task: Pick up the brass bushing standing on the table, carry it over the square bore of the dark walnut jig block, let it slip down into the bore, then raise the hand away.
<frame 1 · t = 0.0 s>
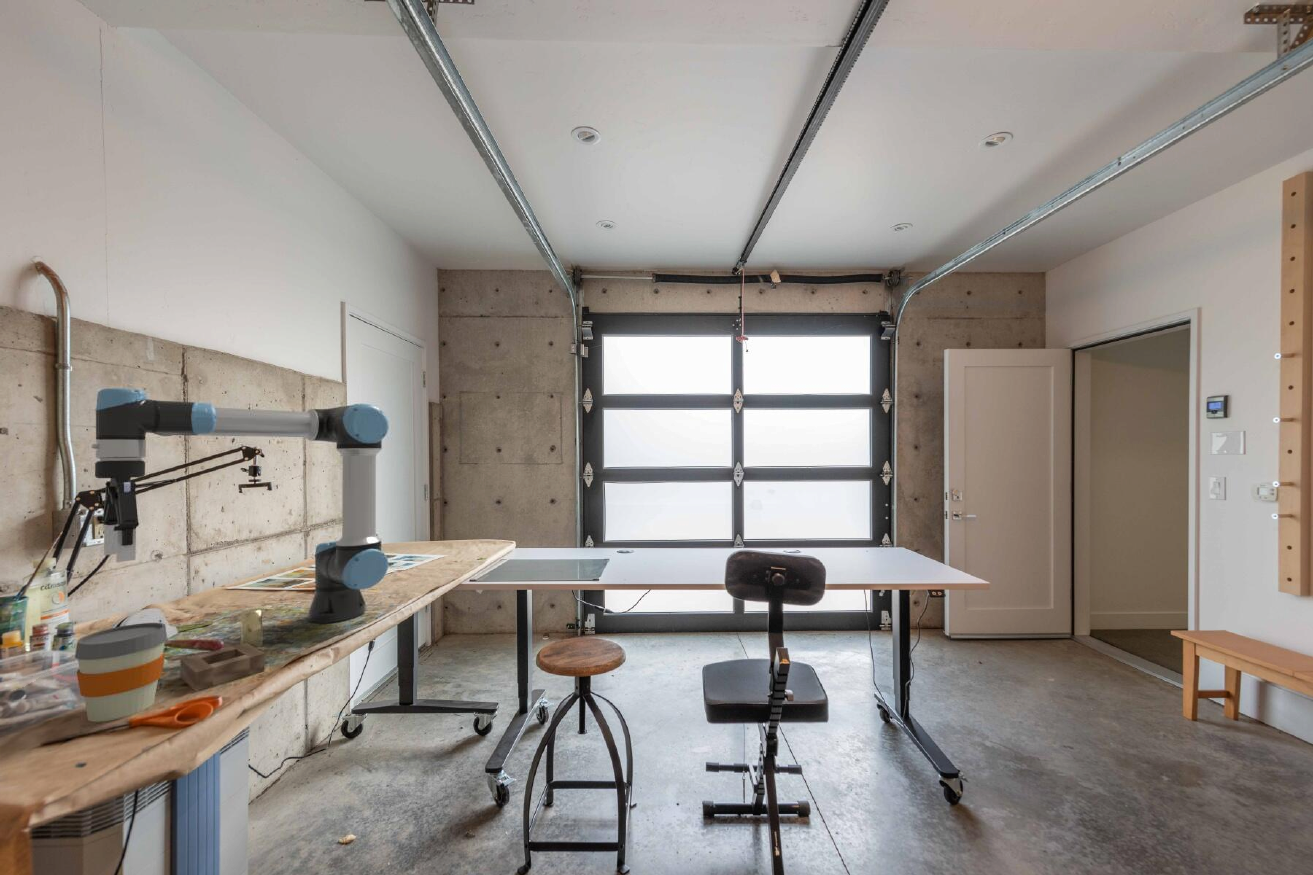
hand: (119, 557, 110), 28 cm above the workbench, tool pointing down, fingers open, 13 cm apart
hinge: (142, 645, 134), on the workbench
reusable coffee cup: (122, 710, 100), on the workbench
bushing: (251, 645, 133), on the workbench
jig: (222, 674, 115), on the workbench
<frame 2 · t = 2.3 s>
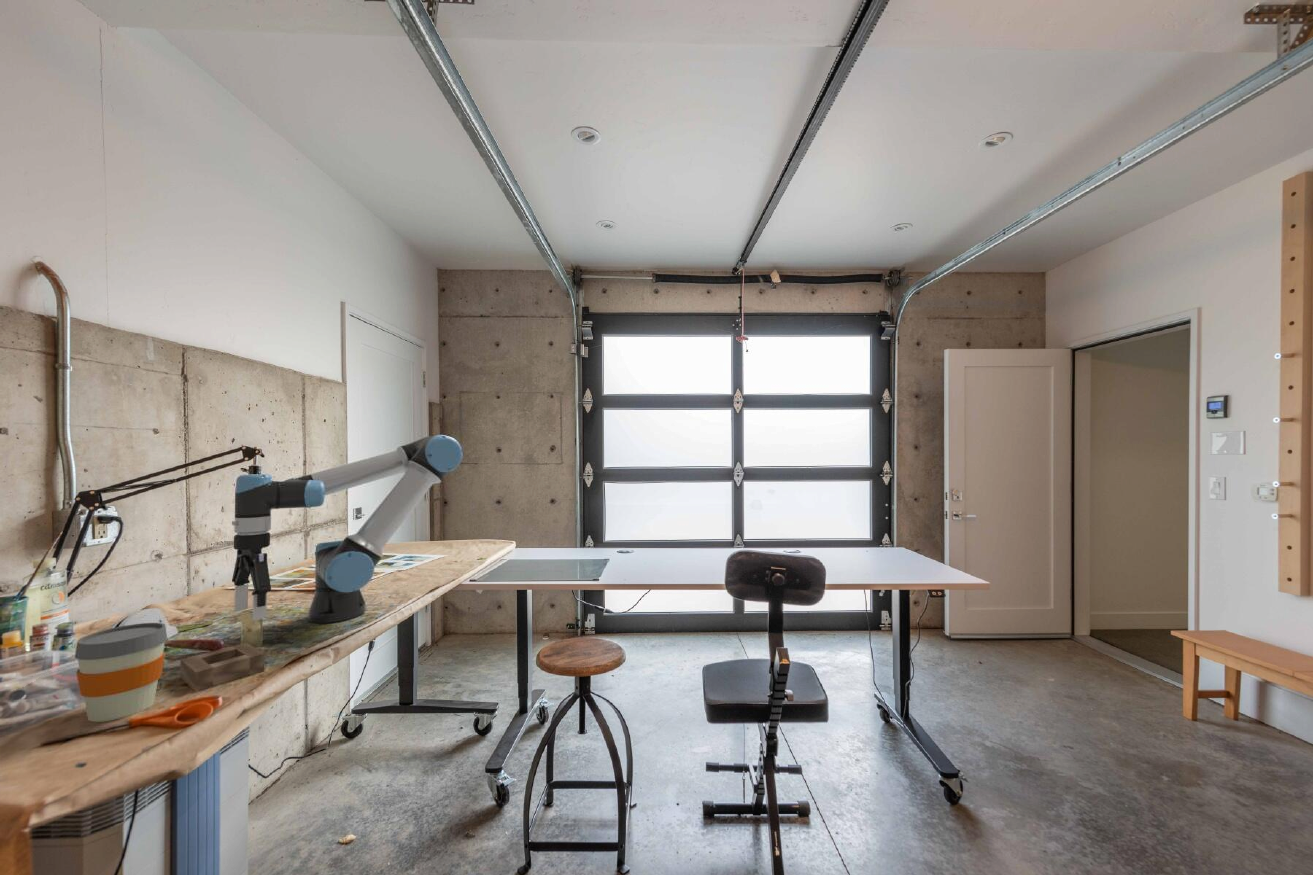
hand: (249, 614, 133), 8 cm above the workbench, tool pointing down, fingers open, 13 cm apart
nothing on the workbench moved.
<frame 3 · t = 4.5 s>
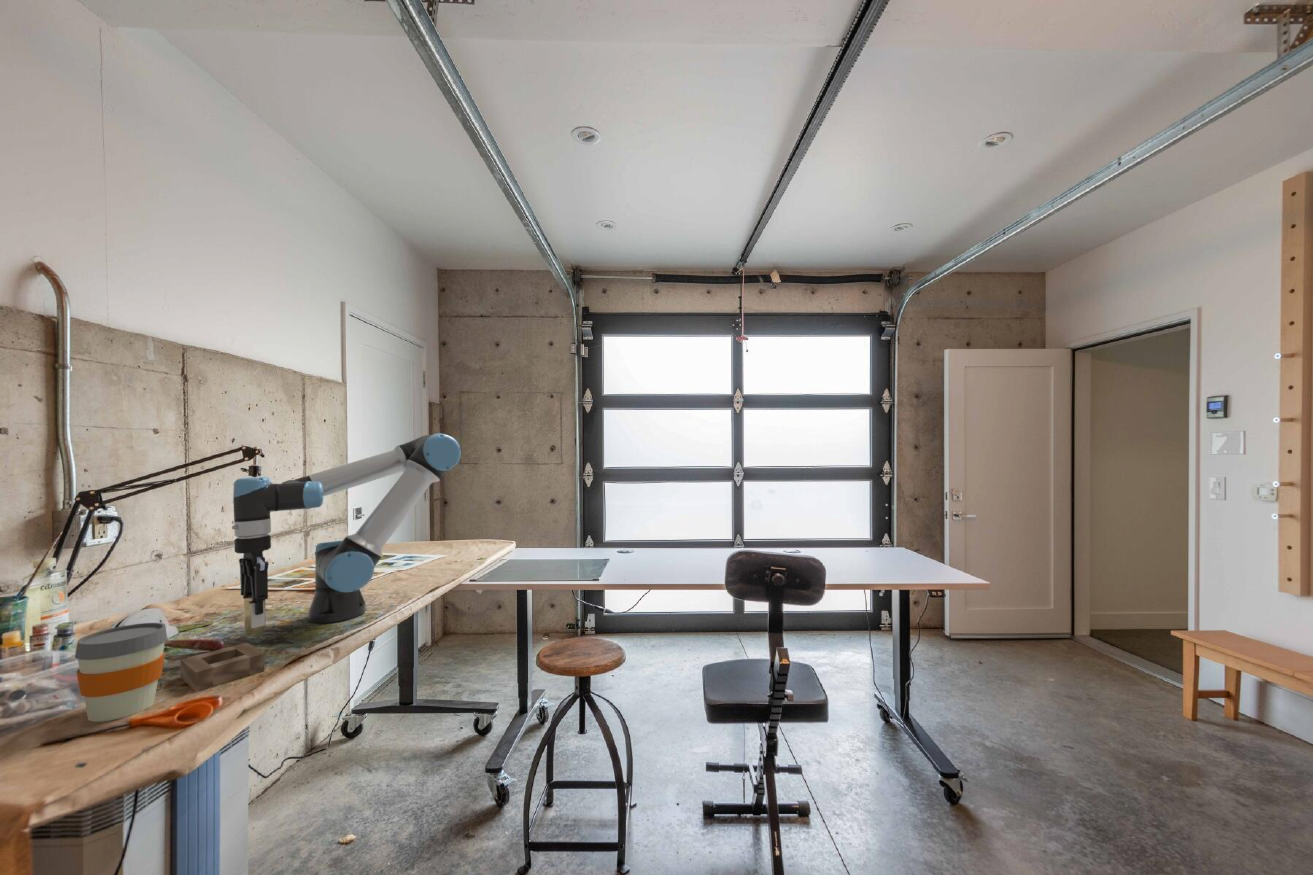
hand: (254, 624, 133), 5 cm above the workbench, tool pointing down, fingers closed on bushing, 4 cm apart
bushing: (255, 631, 133), point 3 cm above the workbench, touching gripper
everything else where it was.
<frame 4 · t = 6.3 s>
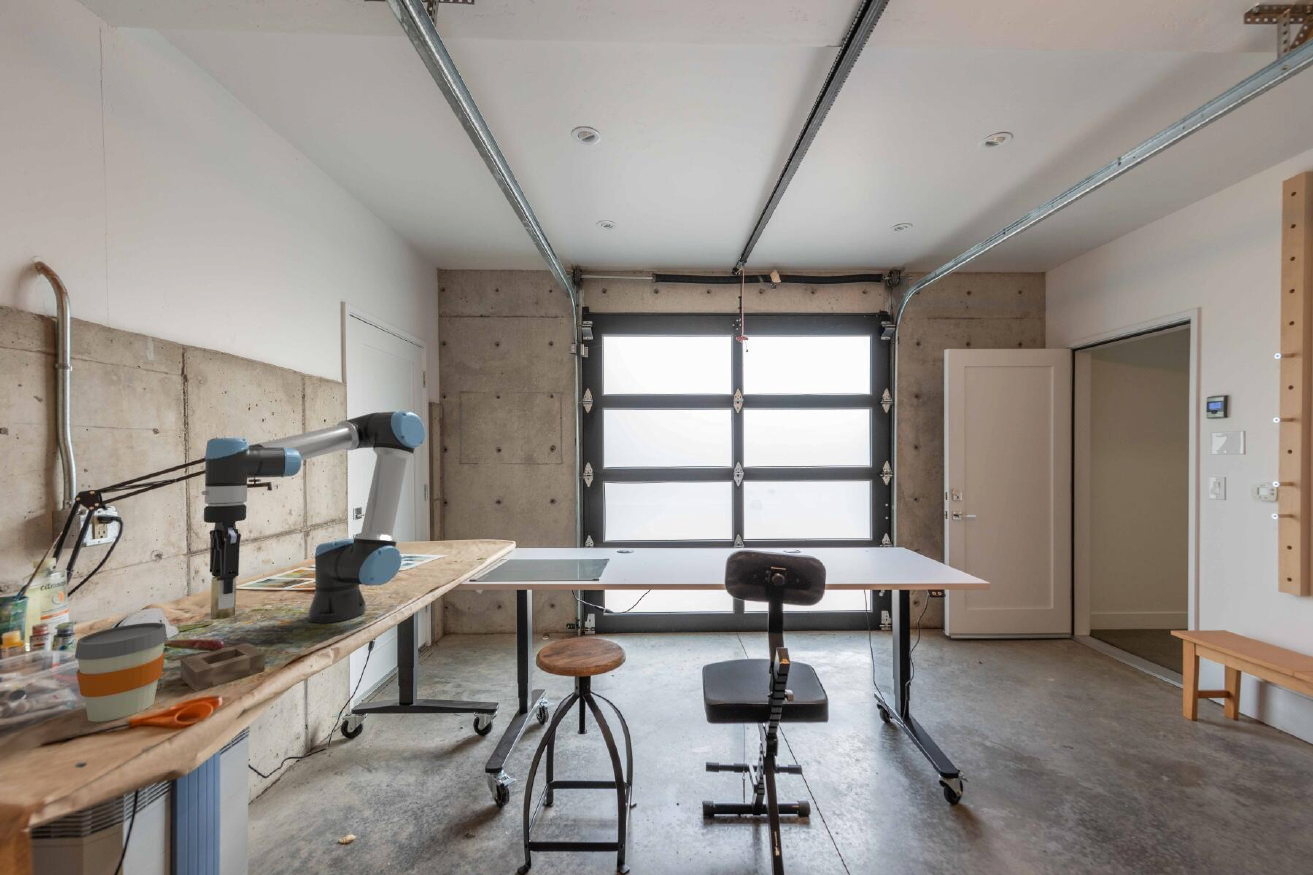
hand: (222, 605, 117), 15 cm above the workbench, tool pointing down, fingers closed on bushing, 4 cm apart
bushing: (222, 616, 116), point 13 cm above the workbench, touching gripper
everything else where it was.
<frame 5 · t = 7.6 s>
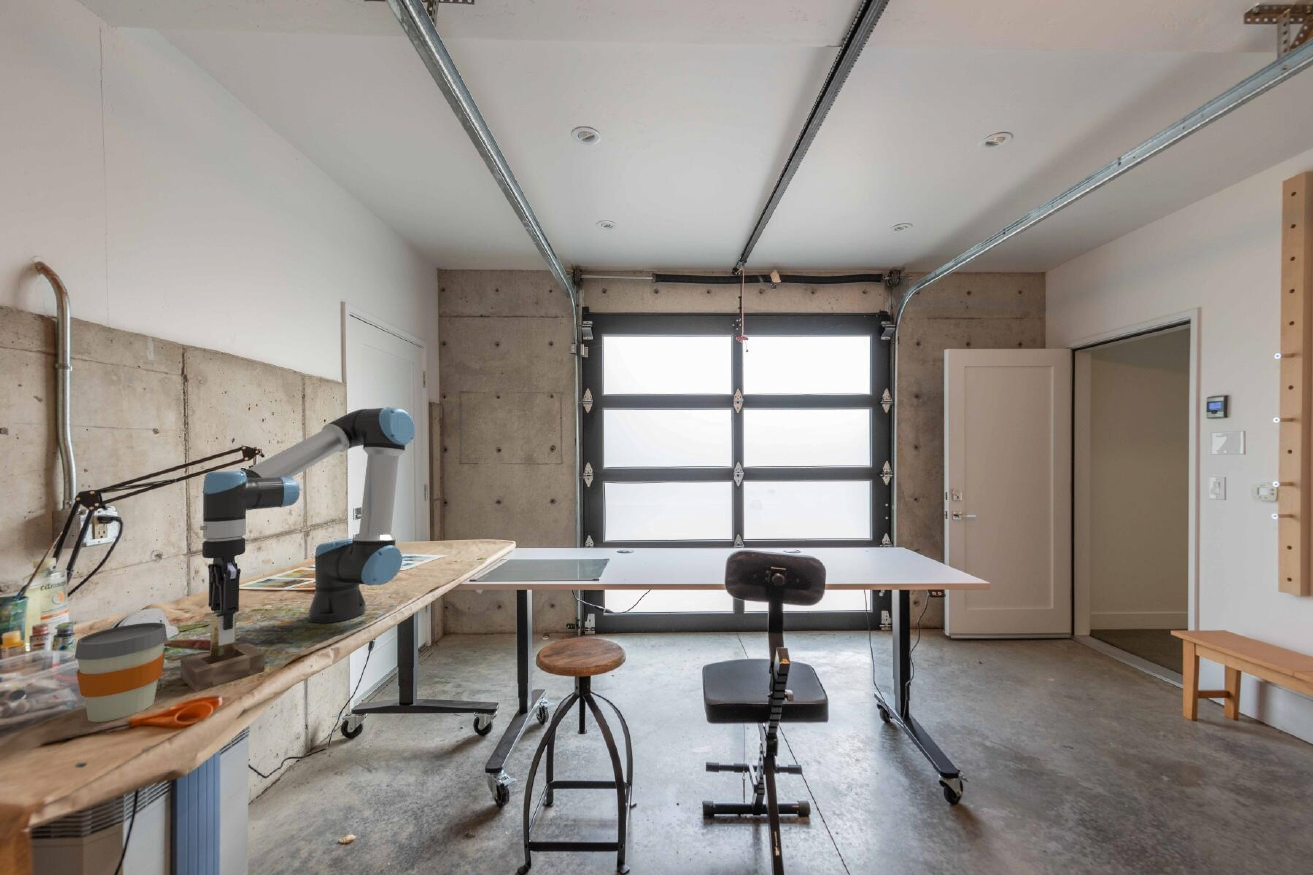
hand: (222, 641, 115), 7 cm above the workbench, tool pointing down, fingers closed on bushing, 4 cm apart
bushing: (223, 651, 115), point 5 cm above the workbench, touching gripper
everything else where it was.
when the fingers open (5 cm above the workbench, at t = 8.5 s): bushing drops 3 cm, resting in jig.
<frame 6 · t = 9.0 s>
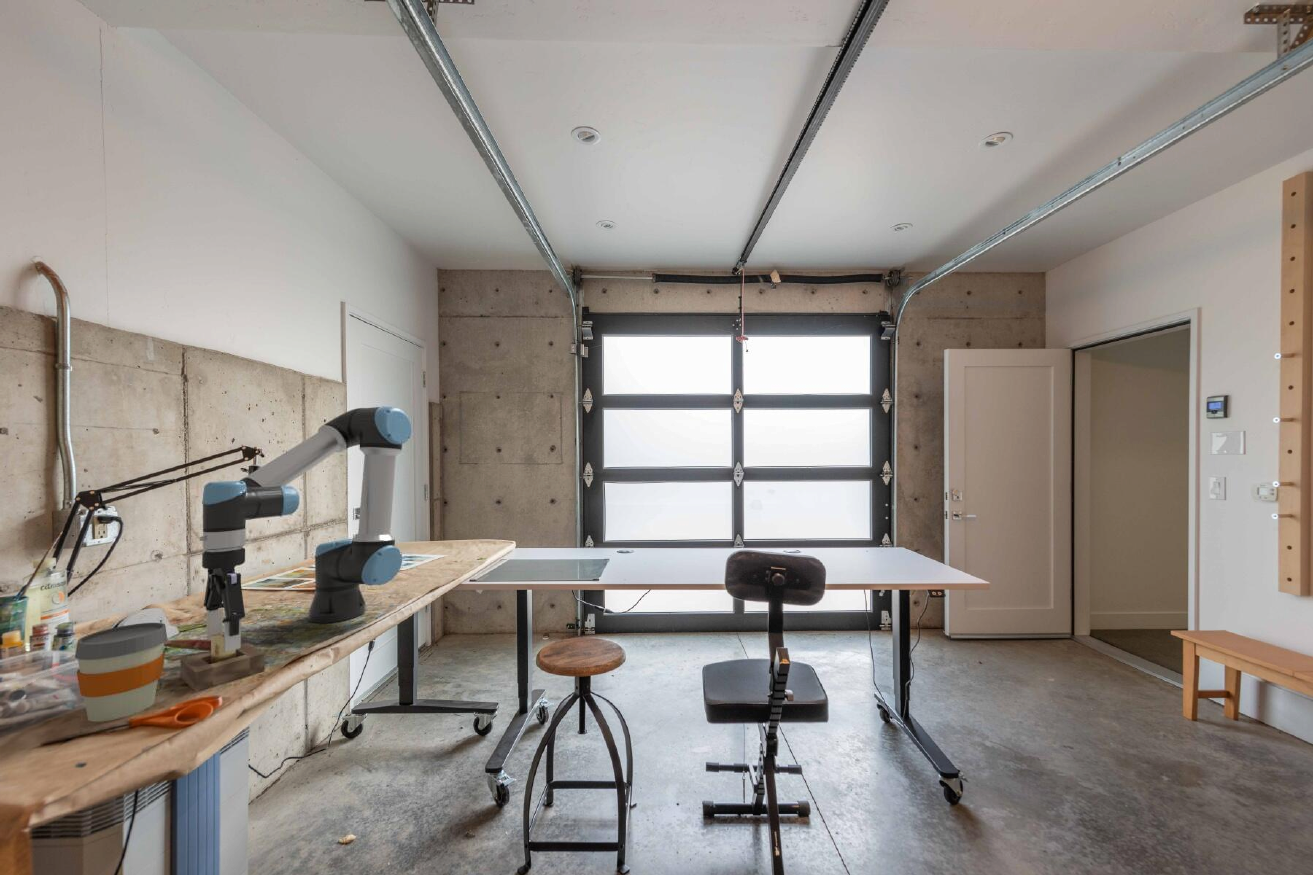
hand: (223, 643, 115), 7 cm above the workbench, tool pointing down, fingers open, 12 cm apart
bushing: (223, 674, 115), resting in jig
everything else where it was.
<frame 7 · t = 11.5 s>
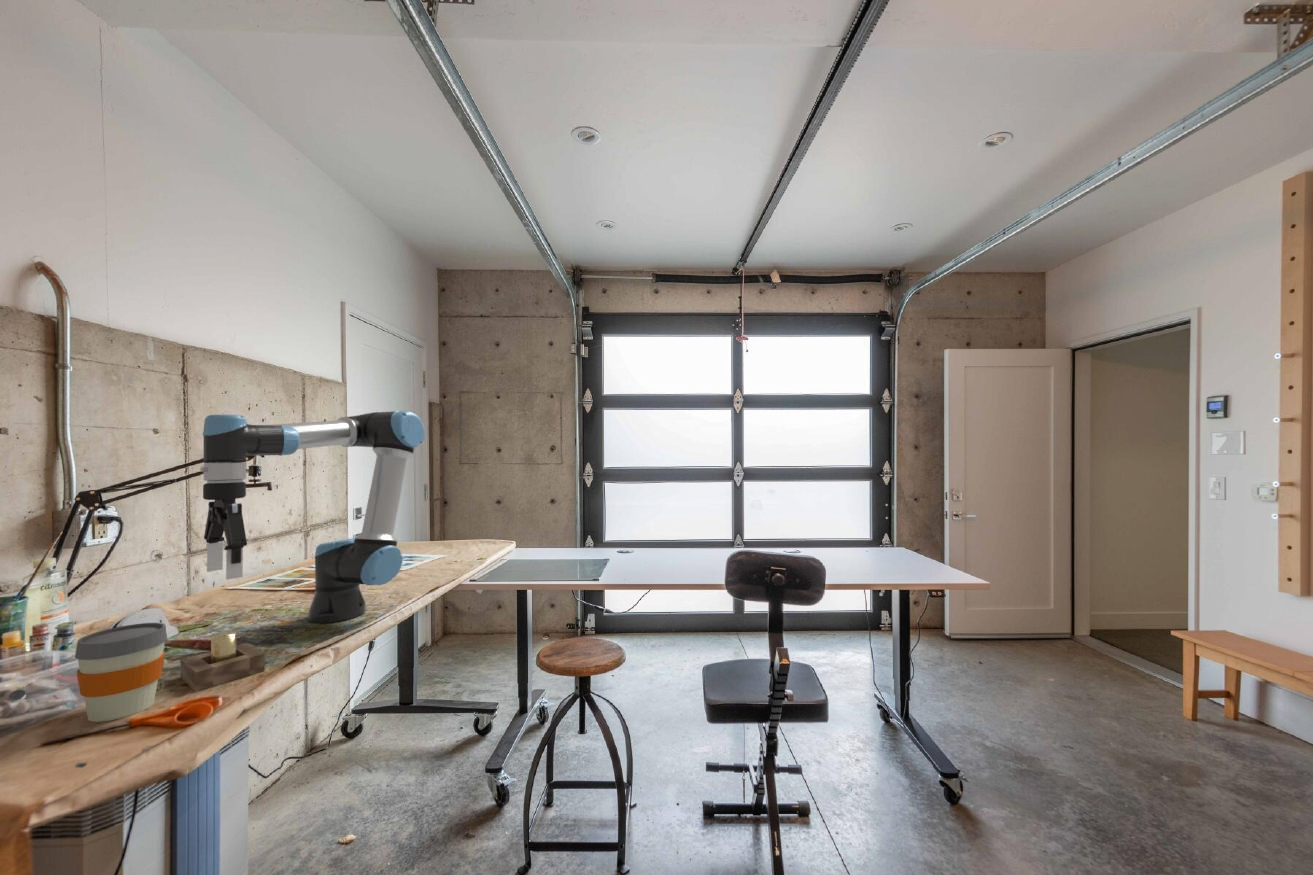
hand: (224, 574, 116), 23 cm above the workbench, tool pointing down, fingers open, 13 cm apart
nothing on the workbench moved.
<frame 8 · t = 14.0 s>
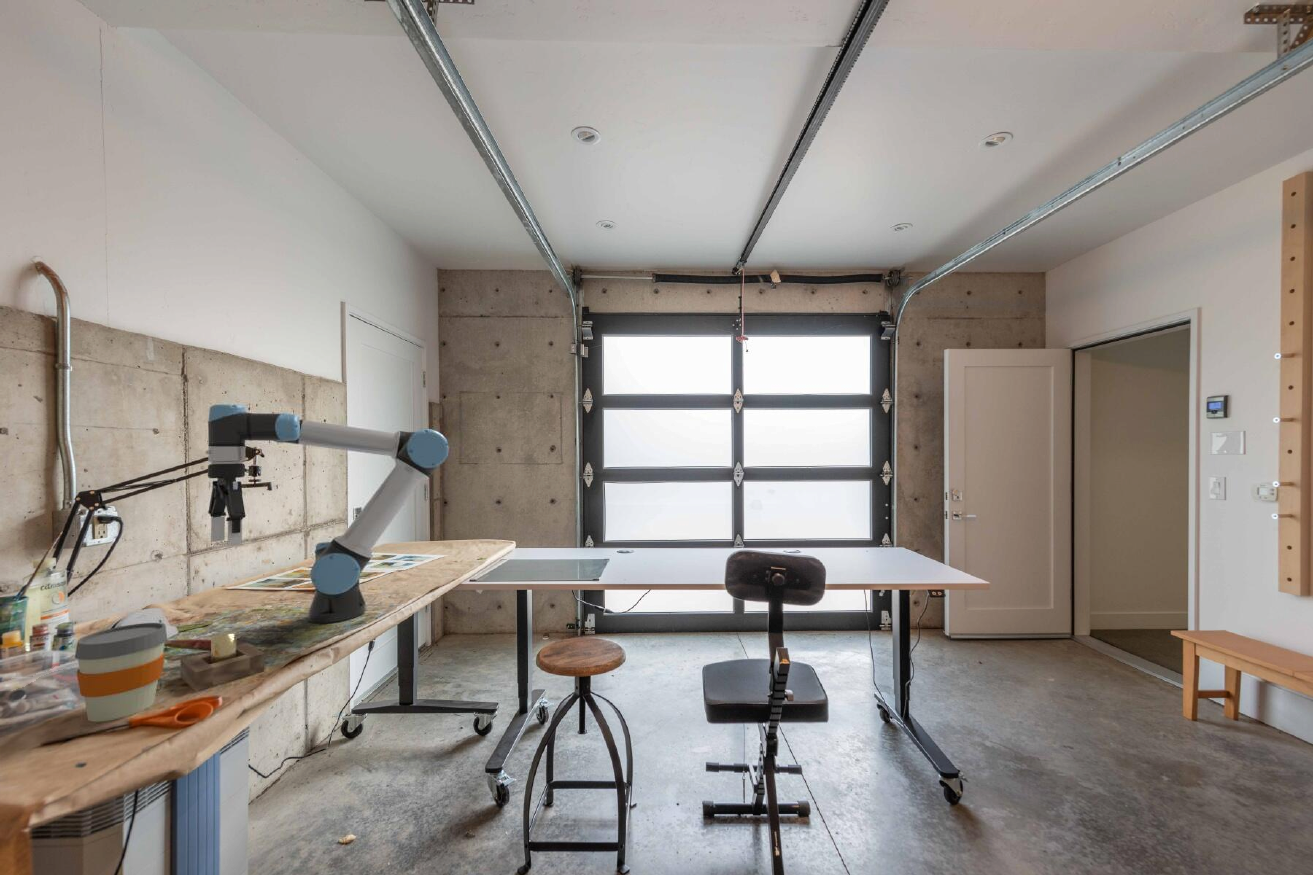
hand: (225, 543, 134), 27 cm above the workbench, tool pointing down, fingers open, 13 cm apart
nothing on the workbench moved.
at the end: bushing 0.1 cm off-centre on the jig, point 0.0 cm above the jig's base; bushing tilted 0°; the gripper is holding nothing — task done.
